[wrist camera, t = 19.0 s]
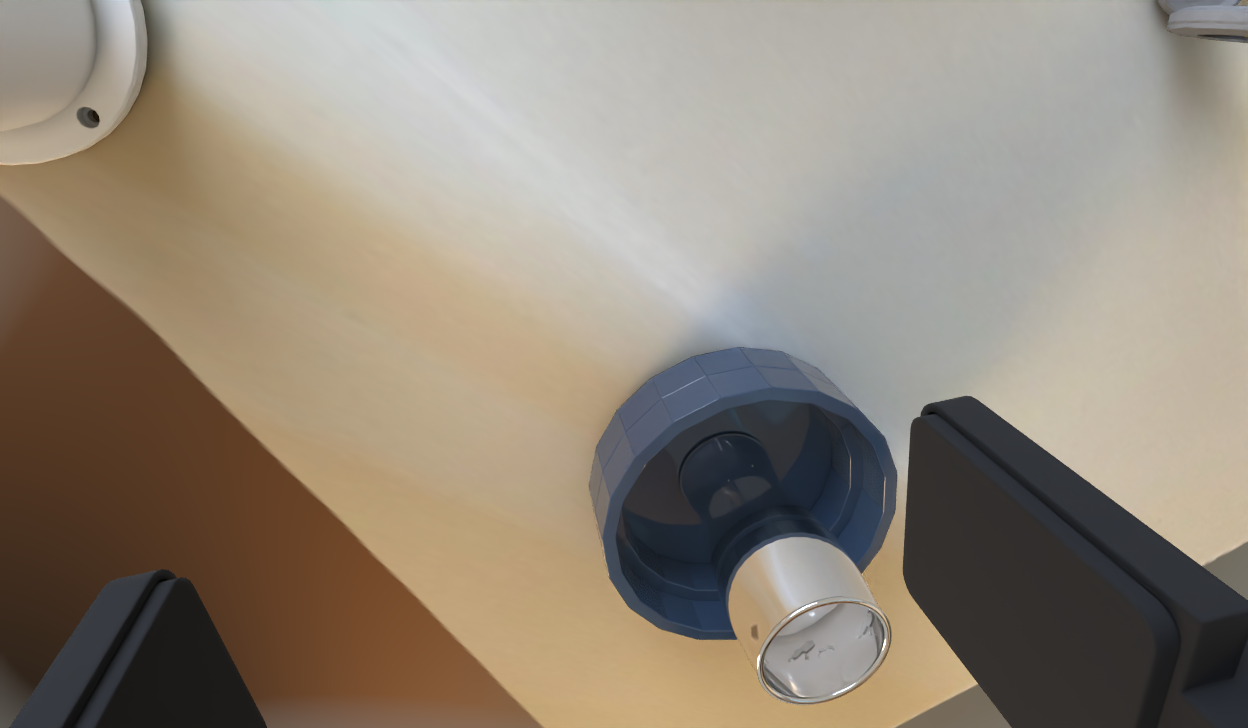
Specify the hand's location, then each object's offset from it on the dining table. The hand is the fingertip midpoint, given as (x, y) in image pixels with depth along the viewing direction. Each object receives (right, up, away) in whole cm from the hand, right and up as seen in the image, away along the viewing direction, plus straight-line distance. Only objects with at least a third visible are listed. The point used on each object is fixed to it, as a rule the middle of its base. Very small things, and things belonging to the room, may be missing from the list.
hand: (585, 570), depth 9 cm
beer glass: (+7, -4, +37) cm, 38 cm away
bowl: (+7, -4, +37) cm, 38 cm away
